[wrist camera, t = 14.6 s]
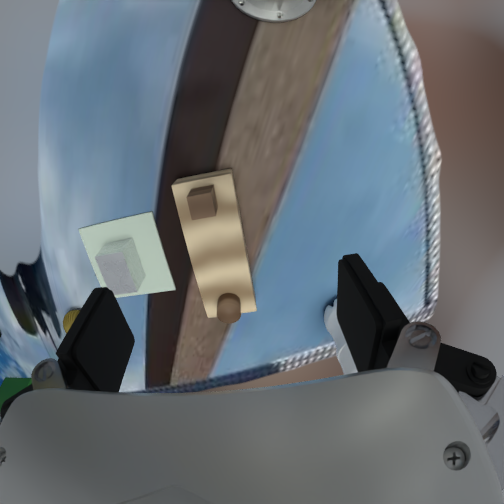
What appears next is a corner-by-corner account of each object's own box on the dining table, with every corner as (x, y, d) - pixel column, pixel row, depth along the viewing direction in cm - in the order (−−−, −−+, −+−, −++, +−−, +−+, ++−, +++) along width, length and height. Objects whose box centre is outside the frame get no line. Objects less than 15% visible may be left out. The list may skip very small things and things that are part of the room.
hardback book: (18, 392, 66) (-6, 442, 44) (5, 377, 62) (-21, 428, 41) (46, 393, 64) (21, 453, 43) (31, 378, 61) (2, 438, 40)
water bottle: (350, 323, 54) (396, 428, 32) (316, 322, 53) (353, 436, 31) (362, 293, 51) (421, 399, 29) (326, 291, 50) (376, 408, 28)
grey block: (106, 243, 44) (94, 257, 39) (132, 237, 43) (122, 251, 39) (120, 279, 47) (110, 295, 42) (145, 275, 47) (137, 292, 42)
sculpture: (53, 320, 46) (80, 315, 46) (61, 308, 50) (88, 303, 49) (73, 349, 50) (101, 347, 49) (79, 337, 53) (107, 334, 53)
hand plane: (177, 179, 40) (164, 193, 33) (231, 168, 40) (230, 180, 33) (209, 303, 50) (206, 334, 43) (255, 296, 50) (258, 327, 43)
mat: (79, 228, 42) (78, 229, 42) (152, 211, 42) (151, 212, 42) (107, 297, 49) (106, 298, 48) (176, 288, 48) (175, 289, 48)
